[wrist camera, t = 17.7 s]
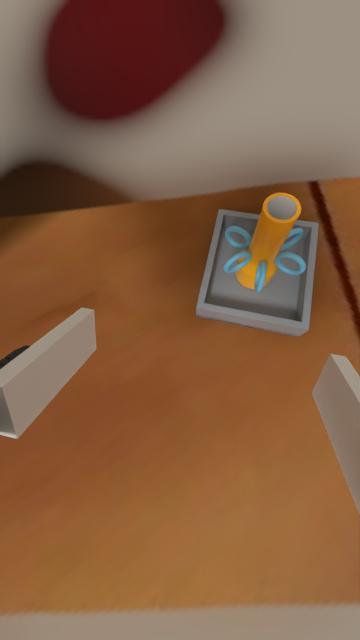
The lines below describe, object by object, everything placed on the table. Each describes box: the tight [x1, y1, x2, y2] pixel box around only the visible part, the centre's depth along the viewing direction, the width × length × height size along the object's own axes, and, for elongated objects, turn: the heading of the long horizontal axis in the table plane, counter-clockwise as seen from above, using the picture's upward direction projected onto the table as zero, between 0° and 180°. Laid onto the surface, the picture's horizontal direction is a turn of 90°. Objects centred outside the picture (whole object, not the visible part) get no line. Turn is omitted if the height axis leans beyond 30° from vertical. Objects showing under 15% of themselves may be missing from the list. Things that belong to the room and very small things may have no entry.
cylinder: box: [223, 193, 306, 292], centre depth 34 cm, size 12×10×15 cm
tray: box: [196, 209, 319, 337], centre depth 40 cm, size 16×18×4 cm
